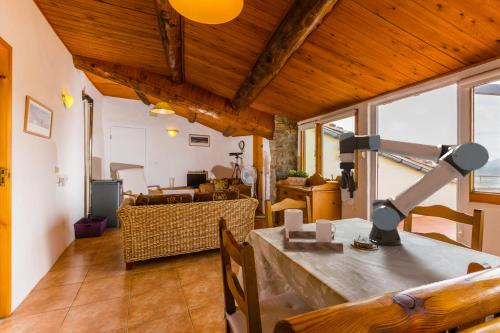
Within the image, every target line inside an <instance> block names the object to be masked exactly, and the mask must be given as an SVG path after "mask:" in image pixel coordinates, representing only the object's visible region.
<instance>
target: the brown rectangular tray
mask: <svg viewBox="0 0 500 333" xmlns="http://www.w3.org/2000/svg"><path fill="white" fill-rule="evenodd" d="M333 233H334V231H333V230H332V234H333ZM284 237H285V249H286V250H287V249H288V250H313V251H314V250H315V251H316V250H318V251H341V252H343V251H344V243H343V242H334V241H333V242H316V241H306V240H305V241H303V240H300V241H299V240H298V241H297V240H290V238H310V237H312V238H313V239H316V230H300V231H299V230H288V228H285V227H284ZM334 238H335V235H334V236H332V239H334Z"/></svg>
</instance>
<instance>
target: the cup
mask: <svg viewBox="0 0 500 333" xmlns="http://www.w3.org/2000/svg"><path fill="white" fill-rule="evenodd" d="M303 214H304V213H303V209H297V208H287V209H284V229H285V228H288V230H300V231H303V227H304V226H303V224H304V223H303V222H304V221H303Z"/></svg>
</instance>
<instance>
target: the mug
mask: <svg viewBox="0 0 500 333" xmlns="http://www.w3.org/2000/svg"><path fill="white" fill-rule="evenodd" d="M332 228H333V229H334V233H333V234H332V231H333V230H332ZM336 230H337V229H336V226H335V224H334V223H332V221H331V220H329V219H316V220H315V231H316V238H315V242H332V241H333V238H332V236H334V237H335V234H336Z"/></svg>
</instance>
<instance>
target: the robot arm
mask: <svg viewBox="0 0 500 333" xmlns="http://www.w3.org/2000/svg"><path fill="white" fill-rule="evenodd" d="M338 140H339V142H338V144H339V148H338V149H339V151H338V152H339V155H338V158H339V169H340V170H341V171H340V172H341V175H340V177H341V178H340V186H339V187H340V189H341V201H342V202H346V201H347V205H350V206H351V205H353V206H354V205H355V191H356V190H357V188H356V183H355V172H354V171H352V170H355V169H356V165H355V164H356V162H355V161H356V154H355V152H356V151H365V152H373V153H378V154H379V153H380V154H386V155H394V156H400V157H405V158H411V159H416V160H417V159H418V160H424V161H431V162H433V163H434V164H437V165H435V166H434V167H433V168H431V169H430V170H429V171H427V172H426V173H425V174H423V175H422V176H421V177H420V178H418V179H417V180H416V181H415V182H412V183H411V184H410V185H409V186H407V188H405V189H403V190H402V191H401V192H400V193H399V194H397V195H395V197H388V198H386V199H379V198H377V199H376V198H374V199H372V203H371V205H372V212H371V221H372V227H371V230H370V232H369V234H368V240H369V239H371V240H374V241H377V243H378V244H377V245H381V246H390V247H396V246H400V245H401V243H402V242H401V241H402V239H401V237H400V233H399V231H398V227H399V225H400V224H401V222H403V221H404V220H406V219H407V218H408V217H409V212H410V211H412V210H413V209H414V208H416V207H418V206H419V205H421V204H422V203H423V202H424V201H426V200H427V199H429V198H430V197H431V196H433V195H434V194H436V193H437V192H438V191H440V190H441V189H442V188H444V187H445V186H447V185H448V184H450V183H451V182H452V181H454V180H456V179H464V177H466V176H468V175H469V174H471V173H472V172H473V171H477V170H480V169H482V168H483V167H484V166H486V165H487V163H488V162H489V159H490V156H489V154H490V153H489V151H488V149H487V148H486V147H485V146H483V145H482V144H480V143H478V142H472V141H466V142H465V141H464V142H462V143H457V144H438V145H430V144H423V143H415V142H409V141H408V142H407V141H401V140H393V139H392V140H391V139H384V138H381V135H380V134H366V135H355V132H354V131H353V132H351V131H350V132H349V131H347V132H346V131H345V132H341V133H340V134H339V139H338Z"/></svg>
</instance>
